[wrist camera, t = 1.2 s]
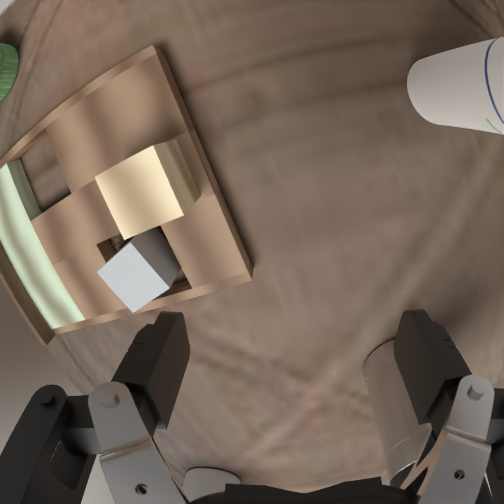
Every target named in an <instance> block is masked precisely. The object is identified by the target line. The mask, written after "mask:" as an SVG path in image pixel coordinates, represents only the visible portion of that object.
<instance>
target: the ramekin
mask: <svg viewBox="0 0 504 504" xmlns="http://www.w3.org/2000/svg"><path fill="white" fill-rule="evenodd" d="M18 65H19V58H18V54H17V51H16V49H15V48H14V47H13V46H11V45H7V44H3V43H0V101H1V100H2V99H3V98H4V97H5V96H6V95H7V94H8V93H9V91H10V90H11V88H12V86H13V84H14V81H15V79H16V75H17V71H18Z"/></svg>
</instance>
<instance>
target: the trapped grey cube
mask: <svg viewBox="0 0 504 504" xmlns="http://www.w3.org/2000/svg"><path fill="white" fill-rule="evenodd" d="M180 269H181V265H180V264H179V262H178V260H177V258H176V256H175V254H174V252H173V250H172V248H171V246H170V244H169V243H168V241H167V240H166V239H165V238H164V237H163V235H162V234H161V233H160V232H159V231H158V229H157V228H156V227H154V228H152V229H149V230H147V231H145V232H142V233H140V234H137V235H136V236H134V237H133V238H132V239H131V240H130V241H129V242H128V243H126V244H125V245H124V246H123V247H122V248H121V249H120V250H119V251H118V252H116V253H115V254H114V255H113V256H112V257H111V258H110V259H109V260H108V261H107V262H106V263H105V264H104V265H103V266H102V267H101V268H100V269H99V270H98V271H97V273H98V274H99V276H100V277H101V278H102V279H103V280H104V281H105V283H106V284H107V285H108V286H109V287H110V288H111V289H112V290H113V292H114V293H115V294H116V295H117V296H118V297H119V298H120V299H121V300H122V301H123V303H124V304H125V305H126V306H127V307H128V308H129V309H130V310H131V311H132V312H133V313H134V312H135V311H137V310H138V309H140V308H141V307H143V306H144V305H146V304H147V303H149V302H150V301H152V300H153V299H155V298H156V297H157V296H159V295H160V294H162V293H163V292H165V291H166V290H168V289H169V288H170V287H171V285H172V283H173V282H174V280H175V278H176V276H177V274H178V273H179V271H180Z"/></svg>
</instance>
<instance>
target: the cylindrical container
mask: <svg viewBox="0 0 504 504" xmlns="http://www.w3.org/2000/svg"><path fill="white" fill-rule="evenodd" d="M407 90H408V94H409V98H410V100H411V102H412V105H413V106H414V108H415V109H416V111H417V112H418V113H419V114H420V115H421V116H422V117H423V118H424V119H426V120H427V121H429V122H431V123H434V124H437V125H446V126H454V127H462V128H469V129H475V130H481V131H487V132H493V133H498V134H503V135H504V37H500V38H496V39H491V40H487V41H482V42H478V43H474V44H470V45H466V46H463V47H459V48H455V49H452V50H448V51H445V52H442V53H438V54H435V55H432V56H429V57H426V58H423V59H420V60H418V61H417V62H415V63H414V64H413V65H412V67H411V69H410V70H409V73H408V77H407Z"/></svg>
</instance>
